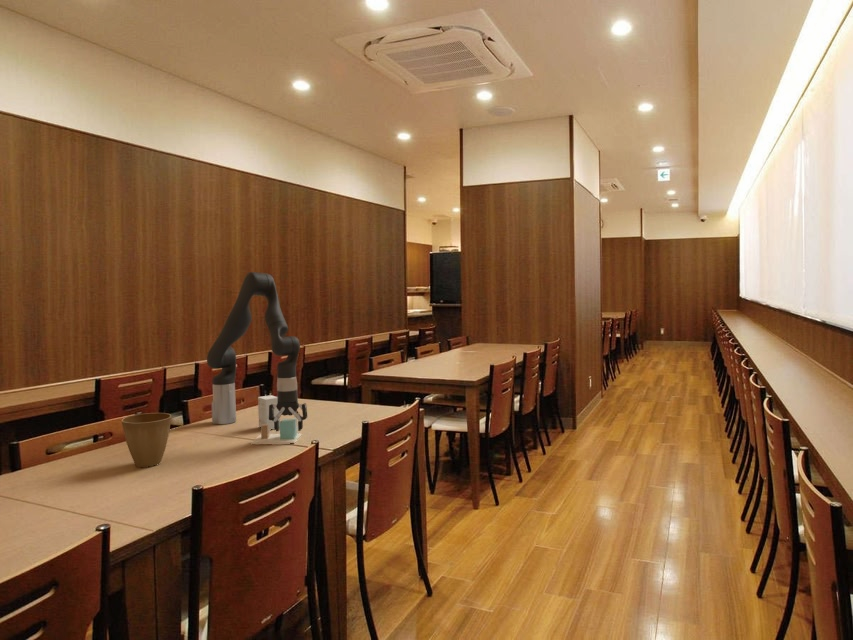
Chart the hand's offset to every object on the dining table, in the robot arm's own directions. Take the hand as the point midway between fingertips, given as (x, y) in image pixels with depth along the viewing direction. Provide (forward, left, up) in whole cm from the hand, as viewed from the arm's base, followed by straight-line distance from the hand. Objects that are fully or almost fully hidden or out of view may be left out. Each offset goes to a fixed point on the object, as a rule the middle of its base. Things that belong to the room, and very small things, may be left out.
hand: (288, 430), depth 217 cm
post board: (-5, 0, -4) cm, 6 cm away
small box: (-13, +20, -4) cm, 24 cm away
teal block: (0, 0, -3) cm, 3 cm away
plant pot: (-40, -28, -4) cm, 49 cm away
